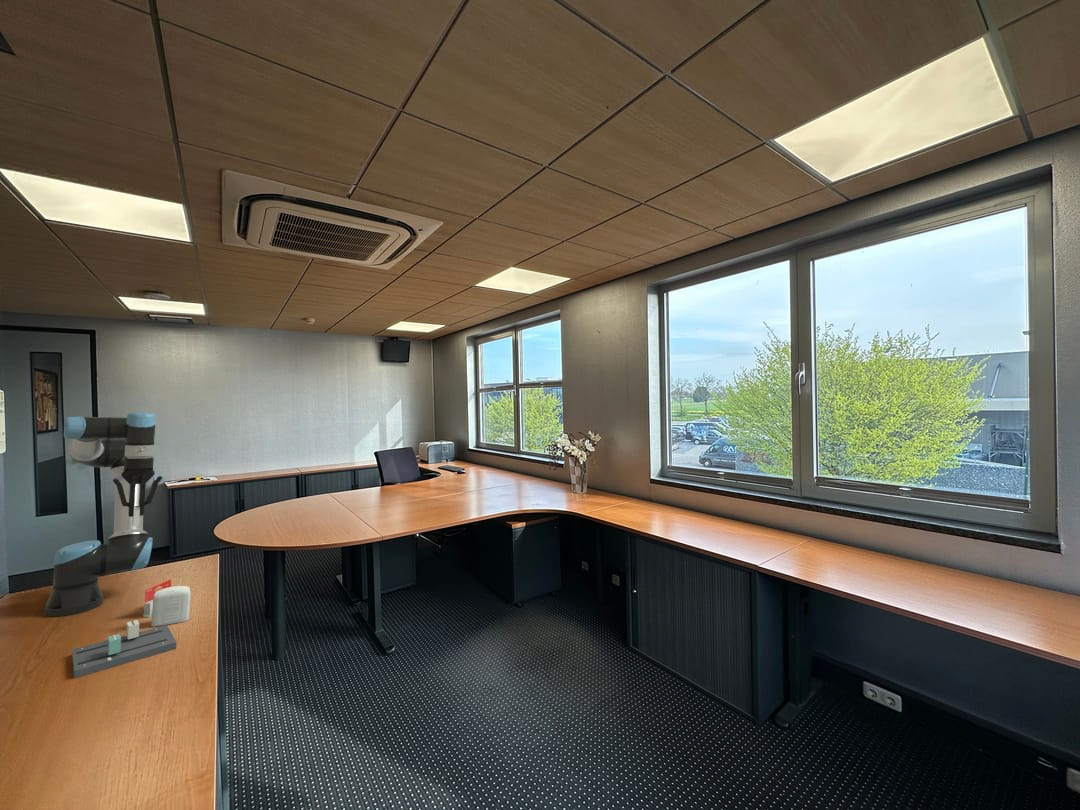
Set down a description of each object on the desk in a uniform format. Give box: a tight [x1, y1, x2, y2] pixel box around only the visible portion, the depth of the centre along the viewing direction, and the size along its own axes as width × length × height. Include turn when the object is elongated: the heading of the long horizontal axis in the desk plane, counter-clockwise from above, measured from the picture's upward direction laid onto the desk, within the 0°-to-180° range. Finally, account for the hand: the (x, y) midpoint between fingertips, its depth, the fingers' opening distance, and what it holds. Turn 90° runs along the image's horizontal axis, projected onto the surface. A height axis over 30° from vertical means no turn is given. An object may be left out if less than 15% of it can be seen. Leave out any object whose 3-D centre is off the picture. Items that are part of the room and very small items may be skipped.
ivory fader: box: [125, 619, 140, 639], centre depth 139 cm, size 4×2×5 cm, turn 49°
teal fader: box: [107, 633, 122, 655], centre depth 130 cm, size 4×2×5 cm, turn 49°
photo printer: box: [150, 585, 192, 628], centre depth 154 cm, size 10×4×12 cm, turn 123°
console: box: [71, 624, 177, 679], centre depth 135 cm, size 16×22×2 cm
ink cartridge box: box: [142, 578, 172, 619], centre depth 163 cm, size 2×11×10 cm, turn 179°
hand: (135, 525), depth 152 cm, fingers closed
